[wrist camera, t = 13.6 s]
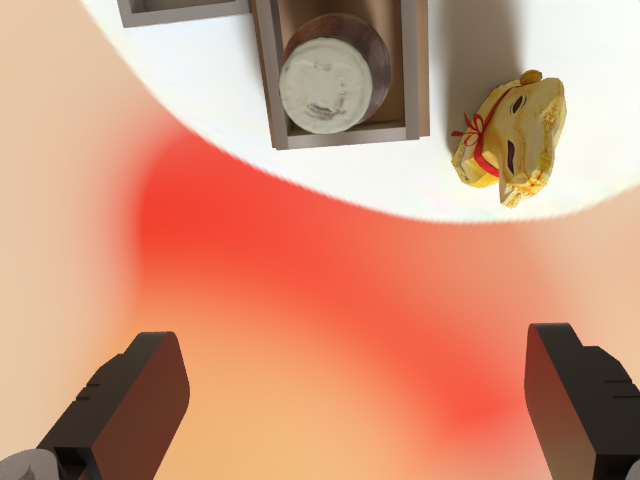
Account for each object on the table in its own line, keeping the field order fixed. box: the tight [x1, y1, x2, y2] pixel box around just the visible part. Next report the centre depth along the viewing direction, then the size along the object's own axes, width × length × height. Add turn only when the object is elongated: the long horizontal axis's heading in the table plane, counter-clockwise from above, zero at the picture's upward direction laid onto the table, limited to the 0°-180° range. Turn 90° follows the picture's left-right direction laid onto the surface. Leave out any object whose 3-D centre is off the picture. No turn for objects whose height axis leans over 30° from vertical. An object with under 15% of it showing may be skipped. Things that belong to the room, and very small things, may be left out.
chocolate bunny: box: [451, 70, 567, 208], centre depth 39 cm, size 7×11×15 cm, turn 157°
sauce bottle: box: [278, 13, 391, 135], centre depth 30 cm, size 7×6×20 cm
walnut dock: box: [251, 0, 430, 150], centre depth 41 cm, size 13×13×9 cm
